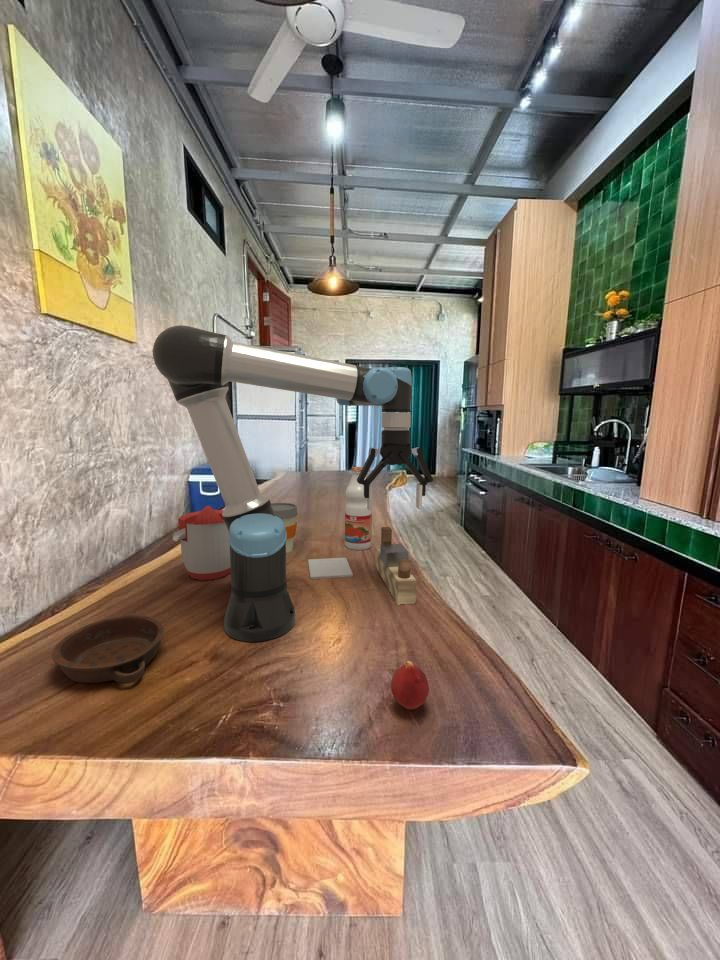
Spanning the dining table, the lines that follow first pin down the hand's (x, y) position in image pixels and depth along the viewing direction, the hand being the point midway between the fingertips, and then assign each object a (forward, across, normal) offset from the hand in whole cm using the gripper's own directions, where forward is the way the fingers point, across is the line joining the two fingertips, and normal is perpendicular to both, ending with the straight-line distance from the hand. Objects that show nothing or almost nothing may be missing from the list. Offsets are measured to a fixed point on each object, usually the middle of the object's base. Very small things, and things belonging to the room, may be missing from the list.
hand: (394, 509), depth 108 cm
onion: (+21, +10, +47) cm, 53 cm away
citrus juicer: (+21, +51, -14) cm, 57 cm away
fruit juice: (+21, +4, -32) cm, 39 cm away
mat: (+21, +16, -13) cm, 29 cm away
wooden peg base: (+21, 0, 0) cm, 21 cm away
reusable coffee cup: (+21, +31, -33) cm, 50 cm away
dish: (+21, +61, +27) cm, 69 cm away
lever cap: (+15, 0, 0) cm, 15 cm away
